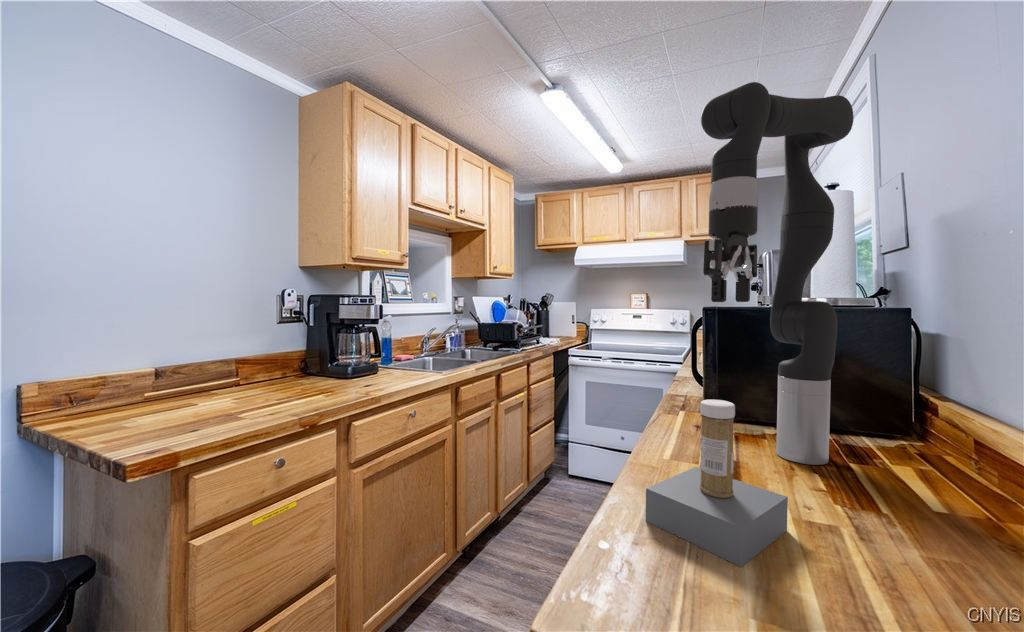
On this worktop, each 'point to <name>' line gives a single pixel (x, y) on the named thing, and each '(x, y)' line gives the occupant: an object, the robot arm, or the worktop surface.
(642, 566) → the worktop surface
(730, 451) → the spice jar
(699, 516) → the grey block
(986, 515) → the worktop surface
